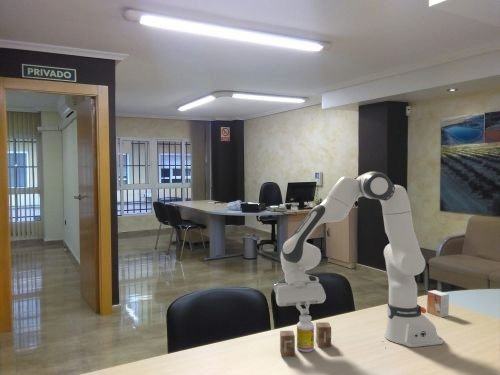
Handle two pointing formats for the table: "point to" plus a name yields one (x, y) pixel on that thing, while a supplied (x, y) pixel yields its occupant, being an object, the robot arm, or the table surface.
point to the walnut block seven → (287, 344)
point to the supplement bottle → (305, 334)
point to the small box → (438, 303)
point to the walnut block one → (323, 334)
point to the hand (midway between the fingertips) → (305, 313)
